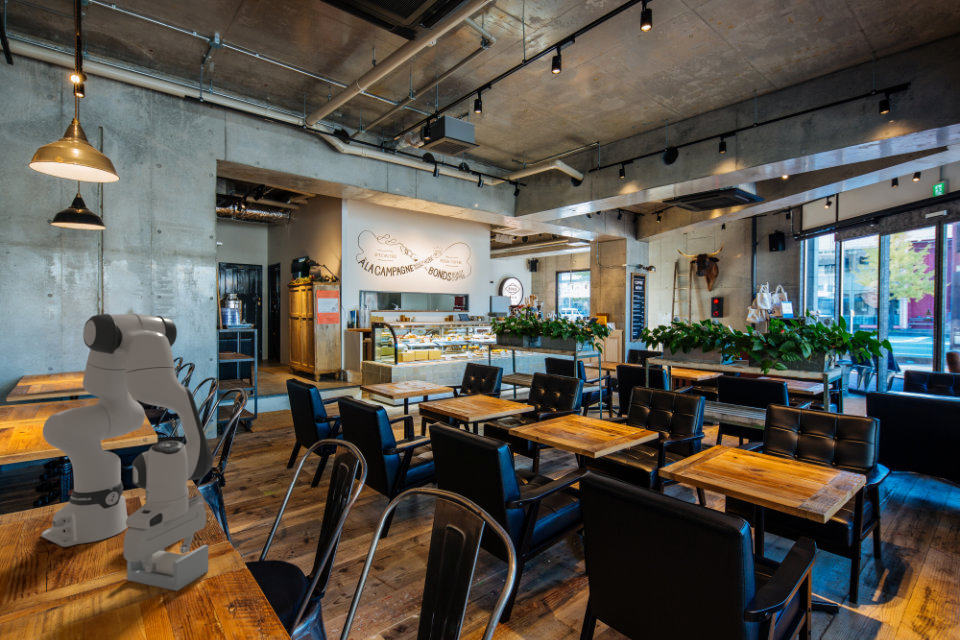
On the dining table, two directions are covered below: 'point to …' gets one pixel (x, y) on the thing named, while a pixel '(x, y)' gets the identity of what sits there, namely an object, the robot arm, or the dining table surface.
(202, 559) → the holder
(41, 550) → the dining table surface
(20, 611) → the dining table surface
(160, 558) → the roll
